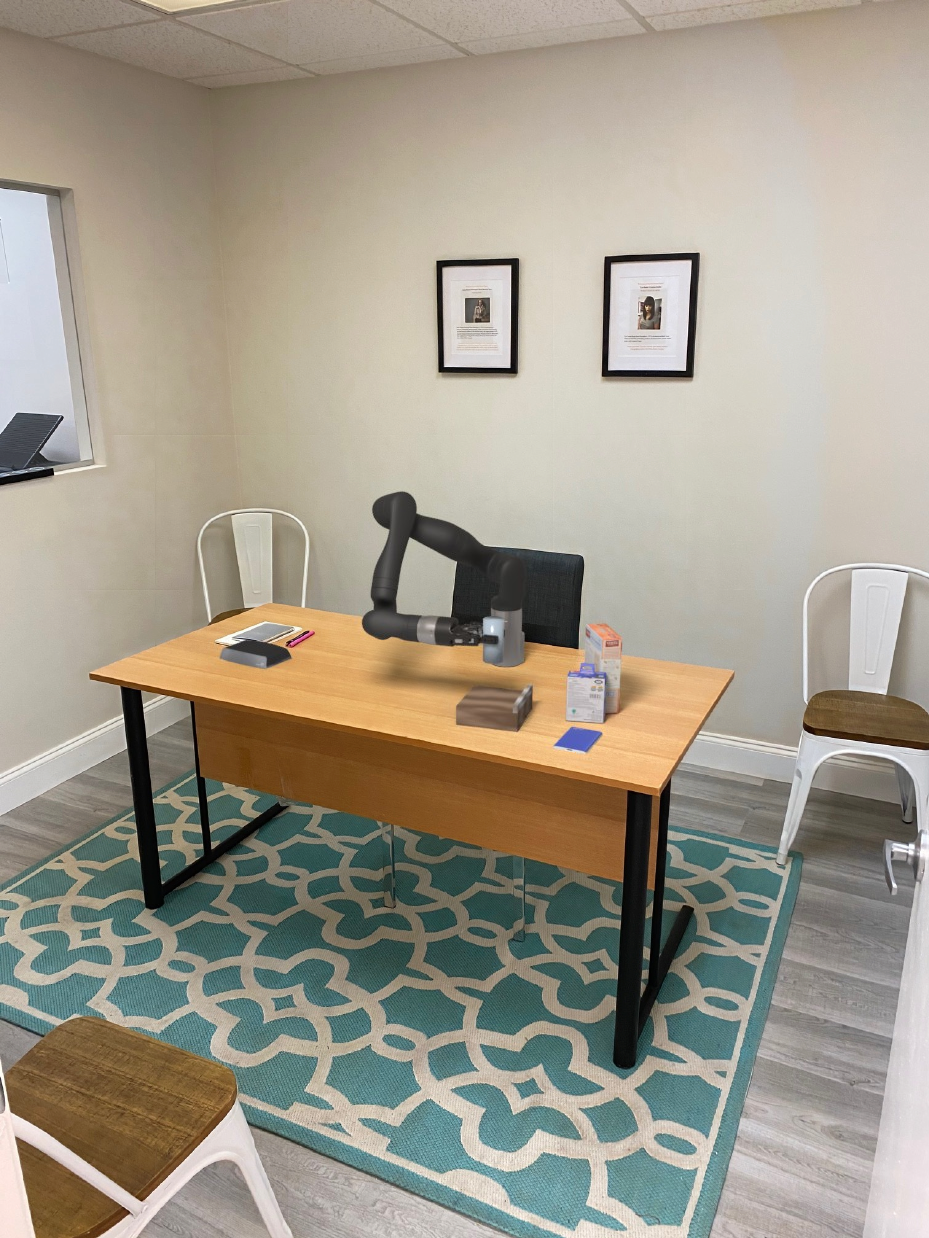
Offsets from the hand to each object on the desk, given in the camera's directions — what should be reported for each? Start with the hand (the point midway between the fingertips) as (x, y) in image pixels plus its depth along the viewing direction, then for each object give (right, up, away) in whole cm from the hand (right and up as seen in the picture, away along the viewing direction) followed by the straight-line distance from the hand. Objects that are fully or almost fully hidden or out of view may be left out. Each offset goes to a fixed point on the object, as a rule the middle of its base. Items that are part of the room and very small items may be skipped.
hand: (501, 636), depth 236 cm
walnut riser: (-1, -21, +7) cm, 22 cm away
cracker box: (+27, -19, +14) cm, 36 cm away
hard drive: (+18, -26, -8) cm, 33 cm away
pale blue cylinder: (-2, -6, +2) cm, 7 cm away
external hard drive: (-73, -8, +53) cm, 91 cm away
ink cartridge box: (+22, -21, +5) cm, 31 cm away
